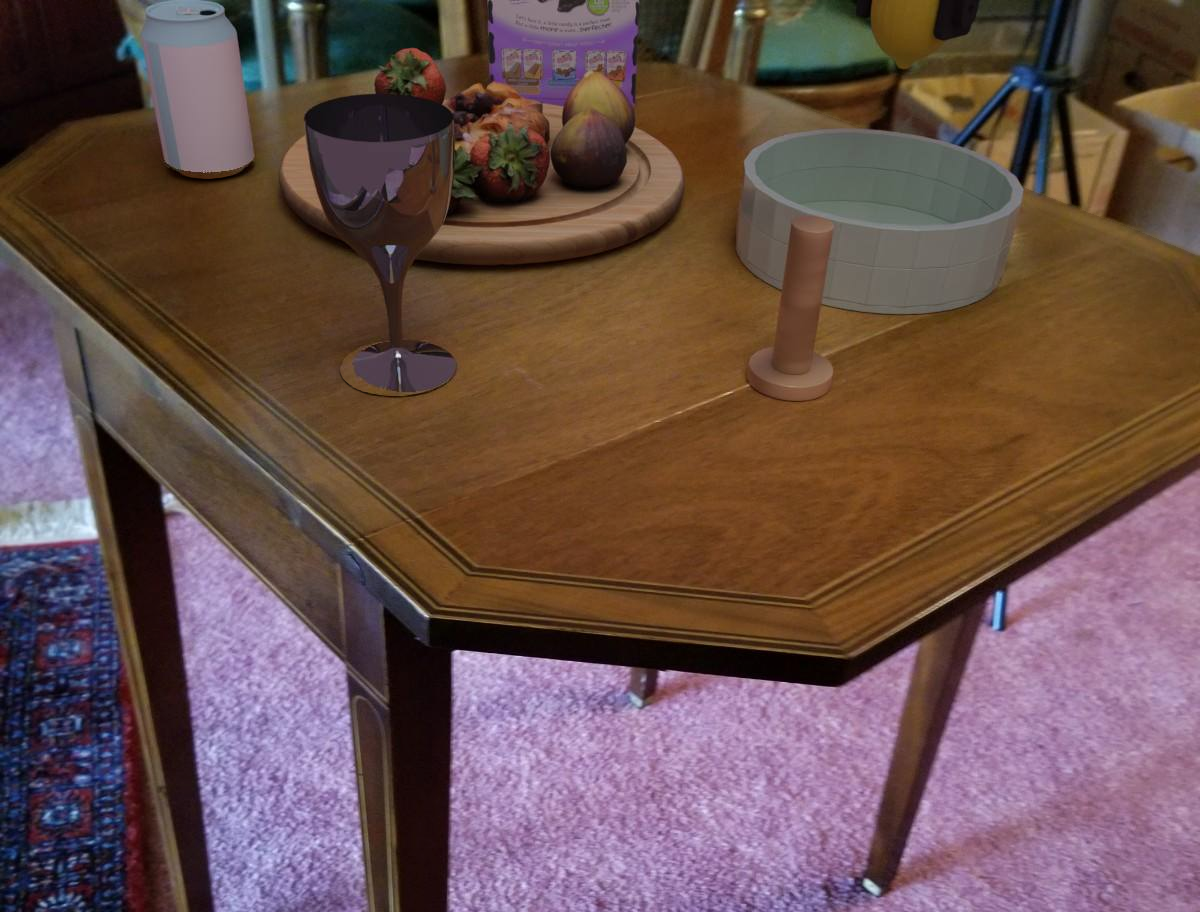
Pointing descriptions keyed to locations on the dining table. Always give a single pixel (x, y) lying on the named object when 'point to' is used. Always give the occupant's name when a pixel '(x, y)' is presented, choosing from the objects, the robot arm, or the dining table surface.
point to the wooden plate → (526, 171)
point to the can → (197, 86)
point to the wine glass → (386, 209)
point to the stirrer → (798, 319)
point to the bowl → (882, 217)
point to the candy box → (562, 45)
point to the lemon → (905, 29)
